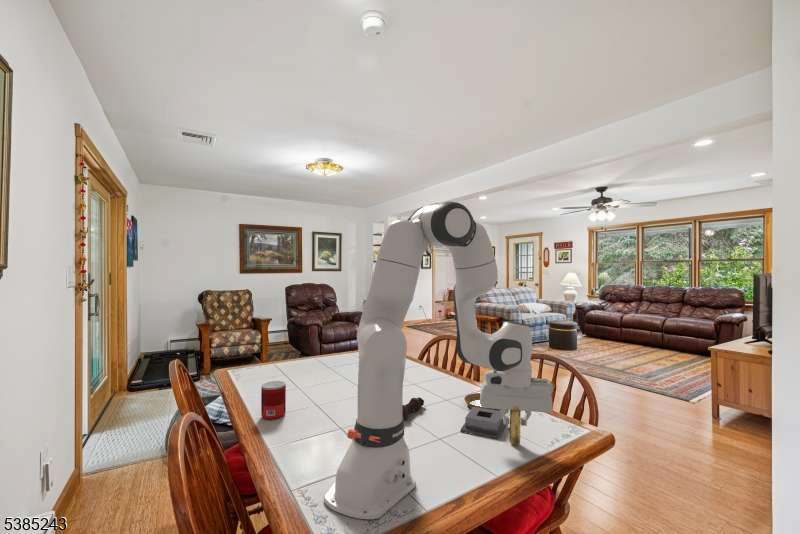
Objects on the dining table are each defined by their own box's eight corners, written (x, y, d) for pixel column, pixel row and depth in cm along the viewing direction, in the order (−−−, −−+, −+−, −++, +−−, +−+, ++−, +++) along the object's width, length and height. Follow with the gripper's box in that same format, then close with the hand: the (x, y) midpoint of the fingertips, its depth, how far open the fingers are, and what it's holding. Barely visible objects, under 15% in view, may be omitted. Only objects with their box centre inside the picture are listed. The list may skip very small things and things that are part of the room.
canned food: (289, 415, 127) (289, 384, 127) (268, 422, 121) (268, 389, 121) (278, 409, 132) (278, 379, 132) (257, 416, 127) (257, 384, 127)
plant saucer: (513, 411, 132) (513, 404, 132) (477, 416, 127) (477, 409, 127) (489, 397, 146) (489, 391, 146) (457, 402, 141) (457, 395, 141)
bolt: (422, 411, 136) (402, 425, 123) (412, 402, 138) (391, 415, 125) (429, 399, 135) (409, 411, 122) (419, 390, 137) (398, 401, 124)
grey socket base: (499, 439, 110) (499, 426, 110) (460, 431, 115) (460, 419, 115) (507, 421, 123) (507, 409, 123) (471, 415, 128) (471, 404, 128)
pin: (520, 446, 104) (521, 407, 104) (506, 443, 106) (507, 405, 106) (522, 440, 108) (523, 403, 108) (508, 437, 110) (509, 400, 110)
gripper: (550, 376, 108) (549, 422, 108) (479, 371, 112) (479, 417, 112) (555, 382, 102) (555, 432, 102) (481, 377, 105) (480, 425, 105)
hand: (514, 424), depth 107 cm, fingers closed on pin, 3 cm apart
